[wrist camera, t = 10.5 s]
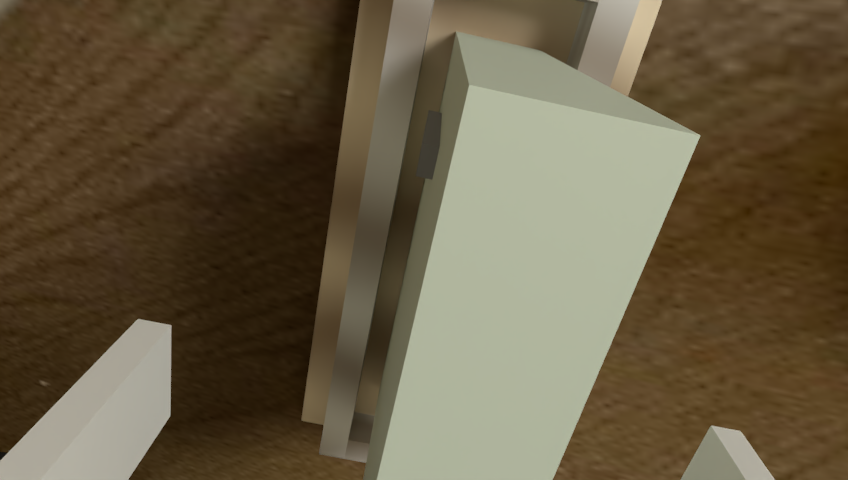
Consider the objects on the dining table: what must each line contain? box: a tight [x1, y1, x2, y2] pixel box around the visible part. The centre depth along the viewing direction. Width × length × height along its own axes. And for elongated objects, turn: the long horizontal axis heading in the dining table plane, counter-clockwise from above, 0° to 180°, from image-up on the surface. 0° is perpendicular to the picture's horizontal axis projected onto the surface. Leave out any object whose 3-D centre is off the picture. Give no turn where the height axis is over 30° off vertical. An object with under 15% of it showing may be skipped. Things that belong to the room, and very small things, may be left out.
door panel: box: [363, 31, 700, 480], centre depth 16 cm, size 16×3×13 cm, turn 168°
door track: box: [301, 0, 662, 463], centre depth 22 cm, size 22×10×3 cm, turn 168°
